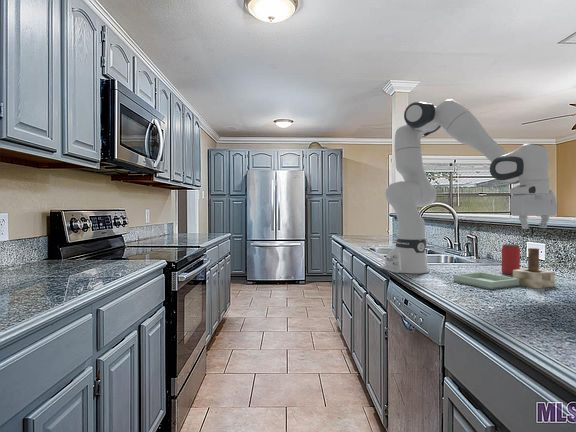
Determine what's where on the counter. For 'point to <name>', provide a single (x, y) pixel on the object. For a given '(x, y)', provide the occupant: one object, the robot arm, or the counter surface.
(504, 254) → the beer can
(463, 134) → the robot arm
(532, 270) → the walnut peg
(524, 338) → the counter surface
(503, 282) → the tray
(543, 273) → the socket block
